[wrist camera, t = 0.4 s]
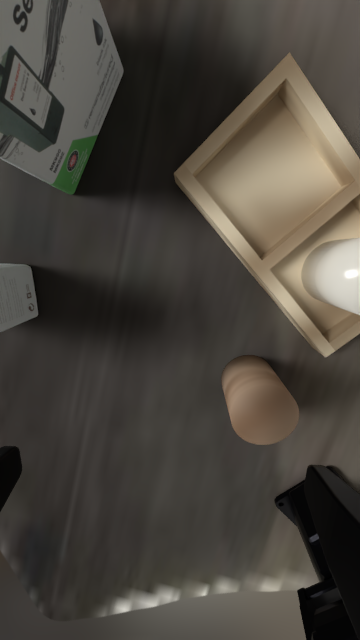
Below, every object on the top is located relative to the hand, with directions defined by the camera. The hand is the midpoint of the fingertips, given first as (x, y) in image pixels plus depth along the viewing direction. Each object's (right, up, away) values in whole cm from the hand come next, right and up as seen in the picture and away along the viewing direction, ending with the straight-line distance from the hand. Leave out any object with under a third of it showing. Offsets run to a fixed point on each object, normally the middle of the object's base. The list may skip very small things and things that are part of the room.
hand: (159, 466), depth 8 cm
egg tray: (+9, +11, +10) cm, 17 cm away
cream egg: (+12, +8, +10) cm, 17 cm away
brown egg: (+6, 0, +13) cm, 15 cm away
